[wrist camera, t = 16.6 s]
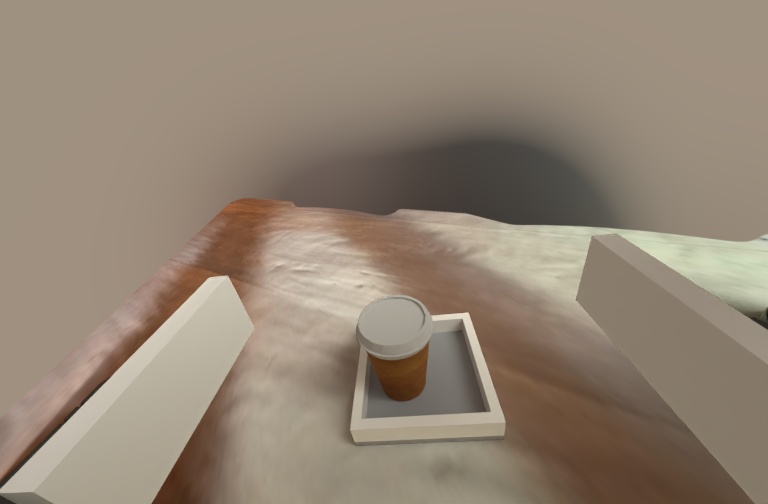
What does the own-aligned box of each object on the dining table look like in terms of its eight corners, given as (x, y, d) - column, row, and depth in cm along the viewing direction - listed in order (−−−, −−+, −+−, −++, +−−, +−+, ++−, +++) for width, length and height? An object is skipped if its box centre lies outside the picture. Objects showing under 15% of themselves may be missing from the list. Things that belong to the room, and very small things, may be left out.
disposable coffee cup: (375, 422, 35) (357, 358, 29) (366, 361, 43) (351, 301, 37) (448, 403, 36) (444, 337, 30) (425, 346, 44) (419, 286, 38)
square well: (468, 328, 47) (468, 312, 45) (503, 439, 32) (505, 422, 30) (367, 336, 49) (363, 321, 47) (355, 445, 34) (349, 429, 32)
